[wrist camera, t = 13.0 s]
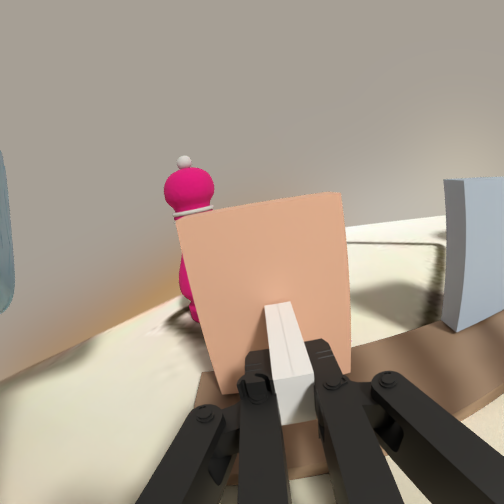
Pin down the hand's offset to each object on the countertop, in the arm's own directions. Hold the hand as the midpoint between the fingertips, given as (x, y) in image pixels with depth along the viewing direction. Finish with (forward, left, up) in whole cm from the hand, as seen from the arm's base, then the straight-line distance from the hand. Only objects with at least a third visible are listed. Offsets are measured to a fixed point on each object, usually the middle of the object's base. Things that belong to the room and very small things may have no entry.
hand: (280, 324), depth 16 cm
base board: (+9, 0, -7) cm, 12 cm away
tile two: (0, +2, -5) cm, 5 cm away
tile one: (+18, +5, -5) cm, 20 cm away
